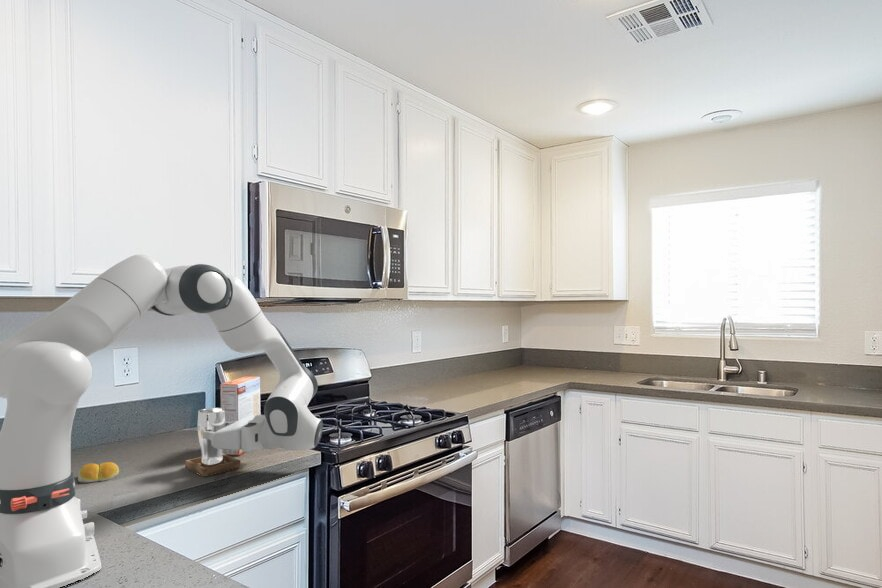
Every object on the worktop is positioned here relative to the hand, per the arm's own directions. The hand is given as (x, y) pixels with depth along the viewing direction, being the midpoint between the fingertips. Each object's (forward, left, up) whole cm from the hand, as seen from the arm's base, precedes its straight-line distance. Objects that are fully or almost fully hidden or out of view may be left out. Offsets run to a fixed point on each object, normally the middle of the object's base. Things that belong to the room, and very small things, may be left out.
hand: (213, 430), depth 151 cm
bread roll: (+14, +24, -11) cm, 30 cm away
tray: (0, 0, -10) cm, 10 cm away
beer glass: (0, 0, -10) cm, 10 cm away
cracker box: (+11, -14, -10) cm, 21 cm away
